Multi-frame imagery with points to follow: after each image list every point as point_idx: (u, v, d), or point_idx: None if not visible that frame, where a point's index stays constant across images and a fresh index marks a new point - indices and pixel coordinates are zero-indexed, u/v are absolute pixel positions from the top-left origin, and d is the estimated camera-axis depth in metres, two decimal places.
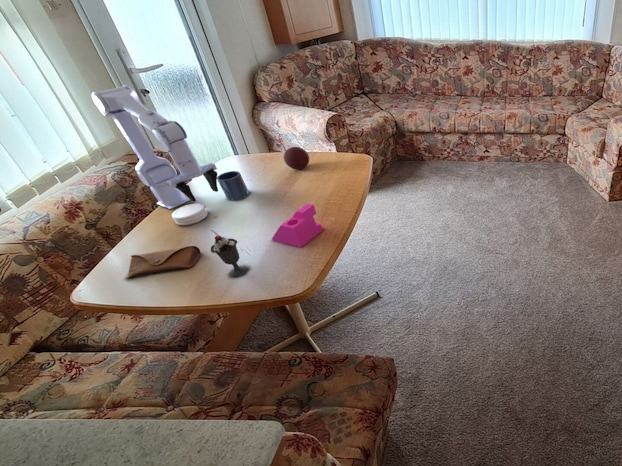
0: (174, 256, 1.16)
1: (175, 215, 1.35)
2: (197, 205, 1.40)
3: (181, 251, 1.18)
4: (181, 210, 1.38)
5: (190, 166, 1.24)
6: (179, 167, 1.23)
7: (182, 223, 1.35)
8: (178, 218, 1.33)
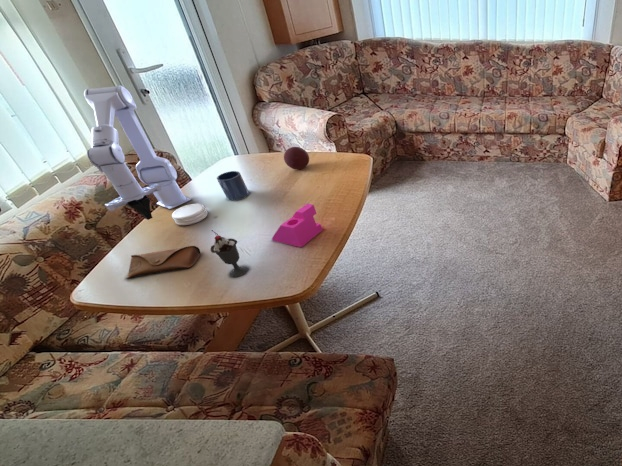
0: (174, 256, 1.16)
1: (175, 215, 1.35)
2: (197, 205, 1.40)
3: (181, 251, 1.18)
4: (181, 210, 1.38)
5: (130, 189, 1.19)
6: (117, 190, 1.18)
7: (182, 223, 1.35)
8: (178, 218, 1.33)
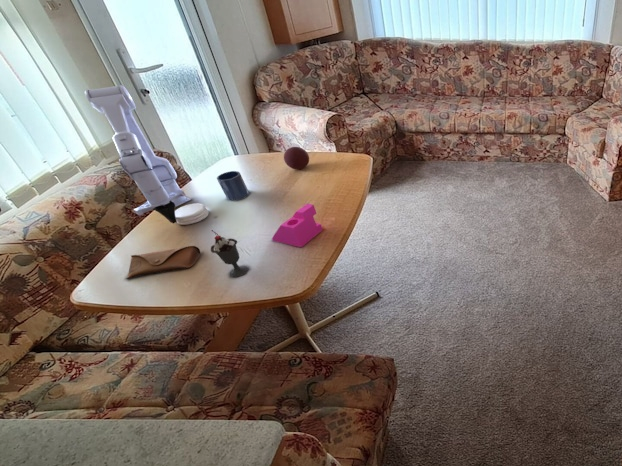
0: (174, 256, 1.16)
1: (176, 215, 1.35)
2: (198, 205, 1.40)
3: (181, 251, 1.18)
4: (182, 209, 1.38)
5: (157, 194, 1.26)
6: (146, 195, 1.25)
7: (183, 222, 1.35)
8: (179, 218, 1.34)
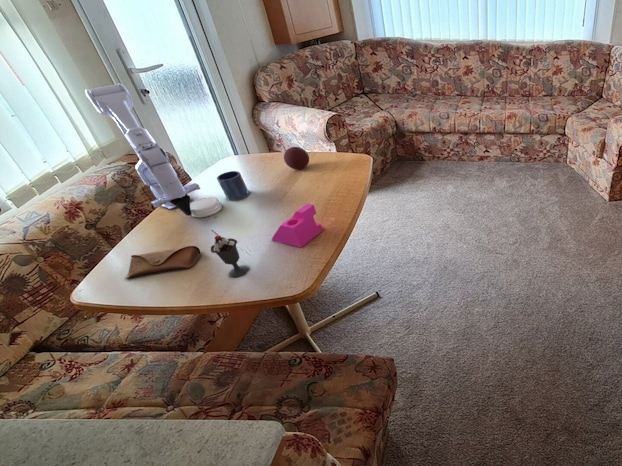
0: (174, 256, 1.16)
1: (191, 207, 1.39)
2: (212, 198, 1.44)
3: (181, 251, 1.18)
4: (196, 202, 1.42)
5: (174, 187, 1.29)
6: (163, 188, 1.28)
7: (198, 215, 1.39)
8: (194, 210, 1.37)
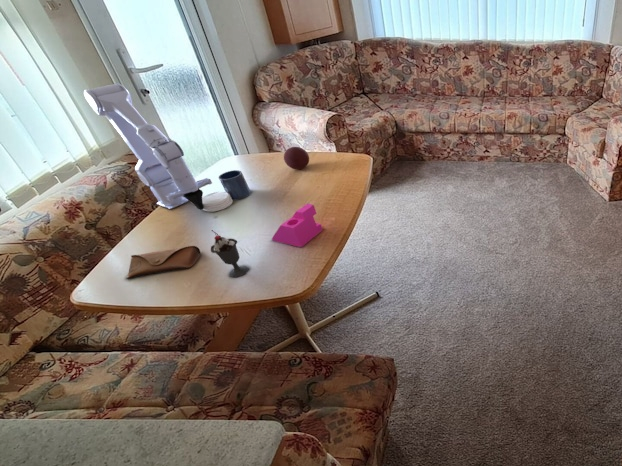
0: (174, 256, 1.16)
1: (203, 202, 1.42)
2: (223, 193, 1.47)
3: (181, 251, 1.18)
4: (208, 197, 1.45)
5: (187, 182, 1.32)
6: (176, 183, 1.31)
7: (209, 209, 1.42)
8: (206, 205, 1.41)
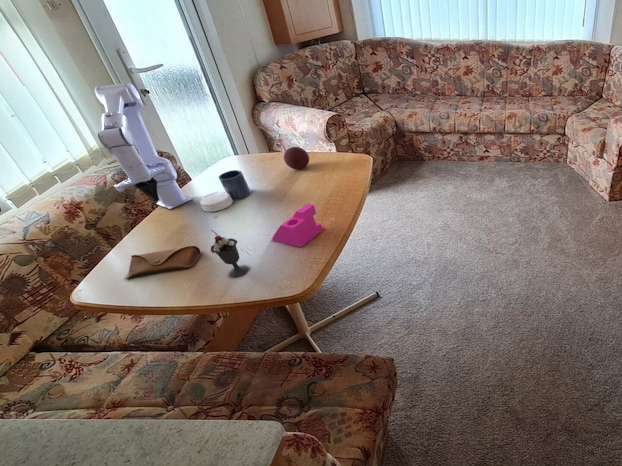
0: (174, 256, 1.16)
1: (203, 202, 1.42)
2: (223, 193, 1.47)
3: (181, 251, 1.18)
4: (208, 197, 1.45)
5: (138, 171, 1.23)
6: (126, 171, 1.22)
7: (209, 209, 1.42)
8: (206, 205, 1.41)
